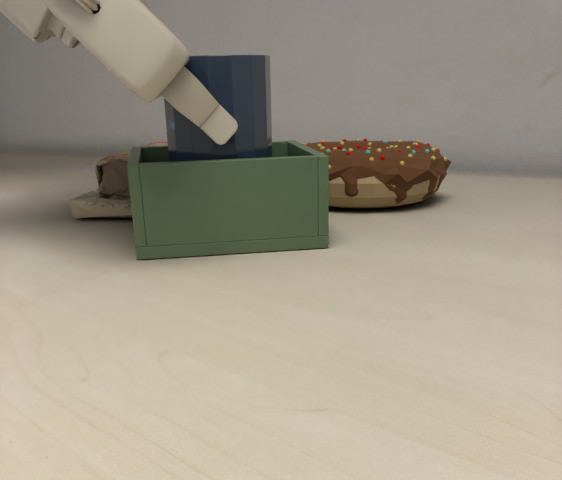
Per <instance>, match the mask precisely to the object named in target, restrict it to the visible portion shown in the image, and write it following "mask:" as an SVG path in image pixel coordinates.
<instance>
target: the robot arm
mask: <svg viewBox="0 0 562 480" xmlns="http://www.w3.org/2000/svg"><path fill="white" fill-rule="evenodd" d="M0 13H1V14H2V15H3V16H4V17H5V18H7V19H8V20H9V21H10V22H11V24H13V25H14V26H15V27H16V28H17V29H19V30H20V31H21V32H22V33H23V34H24V35H25V36H26V37H27V38H28V39H29V40H31V42H33V43H34V44H37V45H38V44H43V43H45V42H46V41H48V40H49V39H51V38H55V37H57V38H58V39H59V40H61V41H62V43H64V44H65V45H66V46H67V47H68V48H69V49H76V48H77V47H79V46H80V45H82V46H83V47H84V48H85V49H86V50H87V51H88V52H90V53H91V55H92V56H94V57H95V58H96V59H97V61H99V62H100V63H101V64H102V65H103V66H104V67H105V68H106V69H107V70H108V71H109V72H110V73H111V74H112V75H113V76H114V77H115V78H116V79H117V80H118V81H119V82H120V83H121V84H123V86H125V87H126V88H127V89H128V90H129V91H130V92H132V93H133V94H134V95H135V96H137V98H139V99H140V100H142V101H143V102H146V103H153V102H154V101H156V100H158V99H159V98H161V97H163V99H164V98H165V99H166V100H167V101H168V102H169V103H170V104H171V105H172V106H173V107H174V108H175V109H176V110H178V111H179V112H180V113H181V114H183V115H184V116H185V117H187V118H188V119H189V120H190V121H192V122H193V123H194V124H196V125H197V126H198V127H200V128H201V129H202V130H203V131H204V132H205V133H206V134H207V135H208V136H209V137H210V138H211V139H212V140H213V141H214V142H215V143H217V144H219V145H222V144H225V143H226V142H227V141H228V140H229V139H230V138H231V137H232V135H233V134H234V133H235V132H236V131H237V128H238V124H237V122H236V120H235V119H234V118H233V117H232V116H231V115H230V114H229V113H228V112H227V111H226V110H225V109H224V108H223V107H222V106H221V105H220V104H219V103H218V102H217V101H216V100H215V99H214V97H213V96H212V95H211V94H210V93H209V92H208V90H207V89H206V88H205V87H204V86H203V85H202V83H201V82H200V81H199V80H198V79H197V78H196V77H195V76H194V75H193V74H192V73H191V72H190V71H189V70H188V69H187V68H186V67H185V66H184V65H186V64H187V63H188V62H189V59H190V57H189V56H190V53H189V50H188V49H187V47H186V46H185V45H184V44H183V42H182V41H181V40H180V39H179V38H178V37H177V36H176V35H175V34H174V33H173V32H172V31H171V30H170V29H169V28H168V27H167V25H166V24H165V23H164V22H163V21H162V20H161V18H160V17H159V16H158V15H157V13H156V12H155V11H154V10H153V8H152V7H151V6H150V5H149V3H148V2H147V1H146V0H0Z"/></svg>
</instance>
